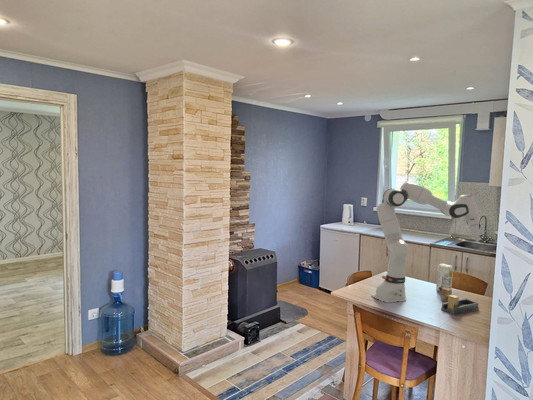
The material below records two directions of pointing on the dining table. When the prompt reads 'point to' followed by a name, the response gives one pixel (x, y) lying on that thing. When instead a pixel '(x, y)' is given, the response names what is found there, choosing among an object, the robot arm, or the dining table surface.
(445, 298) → the brown wooden block
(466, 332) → the dining table surface
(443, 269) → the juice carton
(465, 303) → the grey tray with block
